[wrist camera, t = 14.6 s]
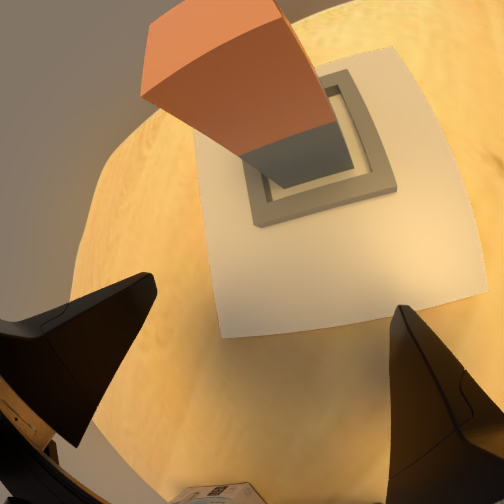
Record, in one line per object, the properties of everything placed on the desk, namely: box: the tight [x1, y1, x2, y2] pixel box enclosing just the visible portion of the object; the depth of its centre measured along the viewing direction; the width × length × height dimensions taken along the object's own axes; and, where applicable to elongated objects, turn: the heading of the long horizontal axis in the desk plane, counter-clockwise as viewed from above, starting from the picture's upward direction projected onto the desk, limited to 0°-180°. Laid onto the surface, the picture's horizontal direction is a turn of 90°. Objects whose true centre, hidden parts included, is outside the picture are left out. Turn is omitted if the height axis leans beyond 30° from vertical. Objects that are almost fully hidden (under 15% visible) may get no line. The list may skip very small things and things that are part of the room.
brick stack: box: [141, 0, 354, 189], centre depth 12 cm, size 5×5×12 cm
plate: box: [193, 47, 488, 339], centre depth 17 cm, size 19×19×2 cm
